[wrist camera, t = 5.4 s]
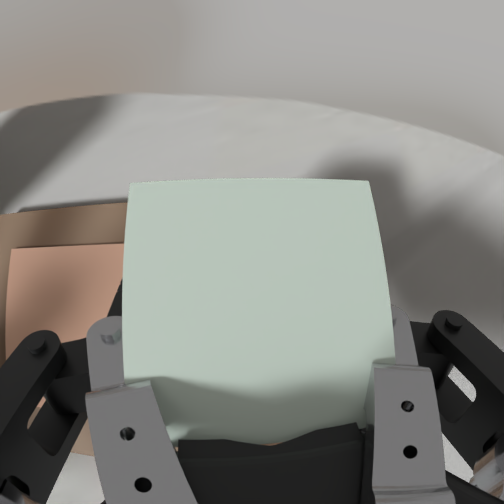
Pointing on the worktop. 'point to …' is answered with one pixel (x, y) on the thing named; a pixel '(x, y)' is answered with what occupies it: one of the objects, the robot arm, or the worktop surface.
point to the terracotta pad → (60, 290)
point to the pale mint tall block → (254, 304)
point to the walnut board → (53, 235)
